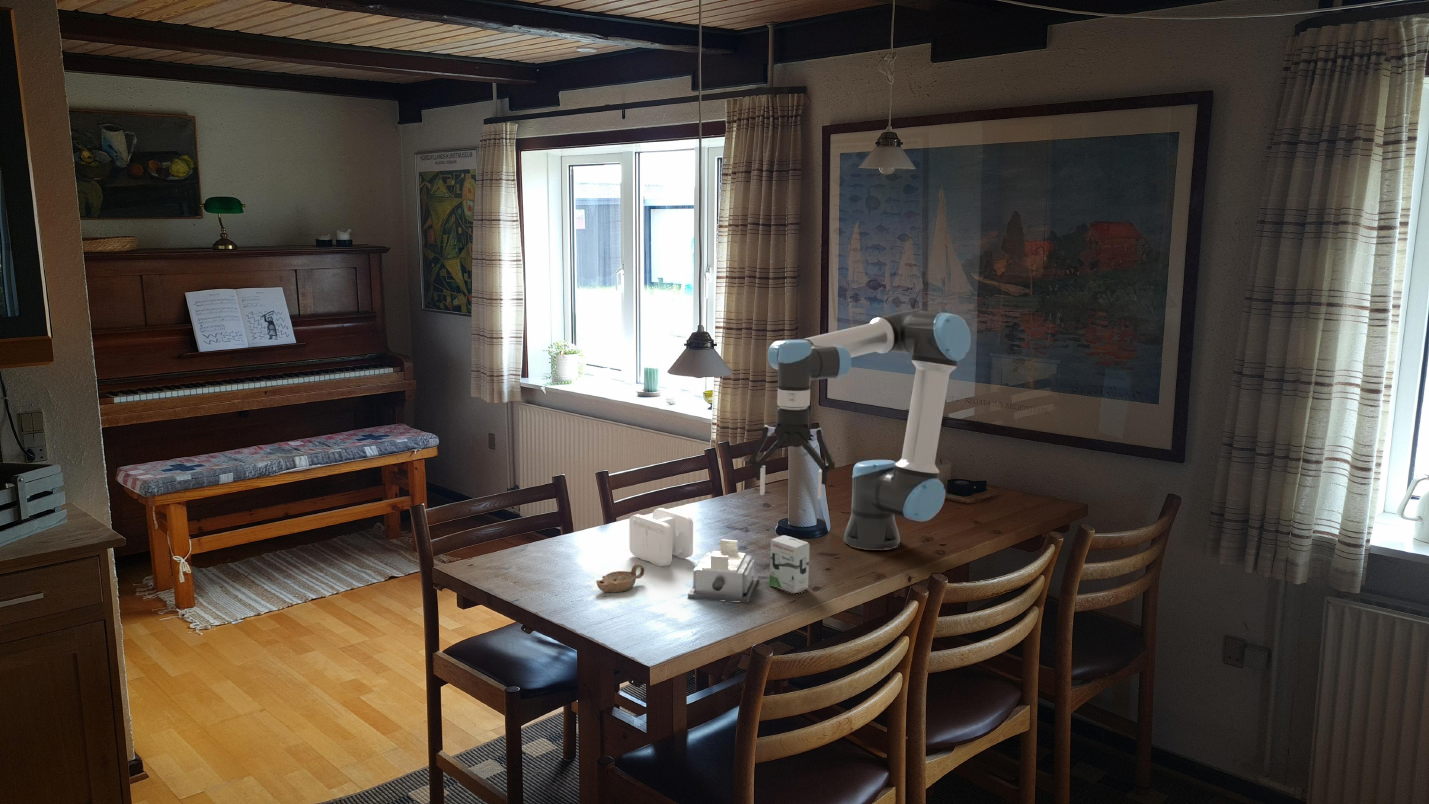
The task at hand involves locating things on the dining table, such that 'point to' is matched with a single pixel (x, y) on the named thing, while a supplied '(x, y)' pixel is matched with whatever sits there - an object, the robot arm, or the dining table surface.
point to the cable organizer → (661, 536)
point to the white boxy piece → (724, 575)
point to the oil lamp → (620, 580)
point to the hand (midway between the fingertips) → (790, 495)
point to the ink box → (789, 563)
